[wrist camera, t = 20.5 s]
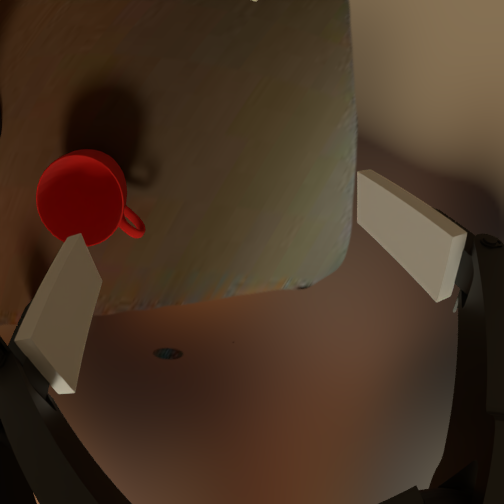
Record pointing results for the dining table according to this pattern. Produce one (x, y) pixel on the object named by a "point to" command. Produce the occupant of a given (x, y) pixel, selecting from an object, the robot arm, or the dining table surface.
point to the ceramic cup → (85, 198)
